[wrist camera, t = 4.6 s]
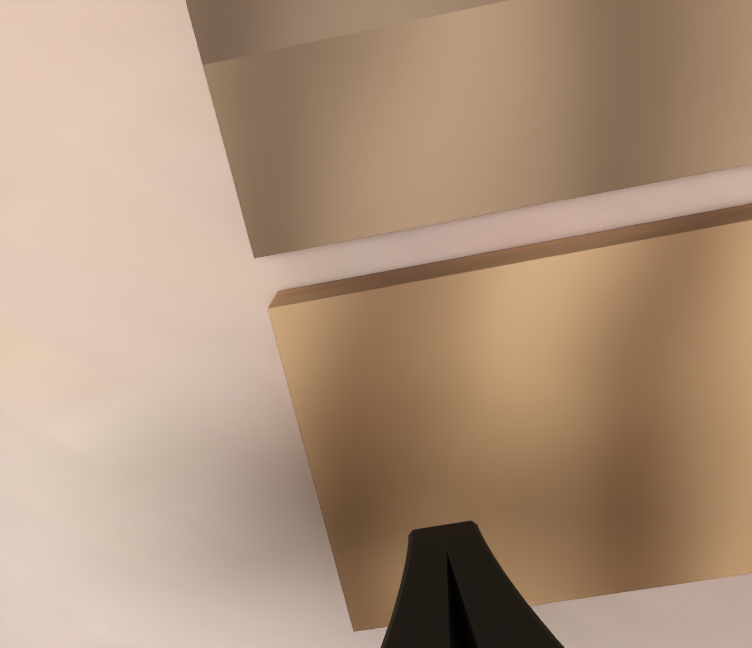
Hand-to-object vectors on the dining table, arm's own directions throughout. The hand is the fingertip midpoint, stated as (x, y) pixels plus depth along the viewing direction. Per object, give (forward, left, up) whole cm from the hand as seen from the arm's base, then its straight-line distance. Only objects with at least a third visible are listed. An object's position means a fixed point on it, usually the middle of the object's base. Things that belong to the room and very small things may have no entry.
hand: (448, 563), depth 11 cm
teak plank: (-6, 0, -5) cm, 7 cm away
